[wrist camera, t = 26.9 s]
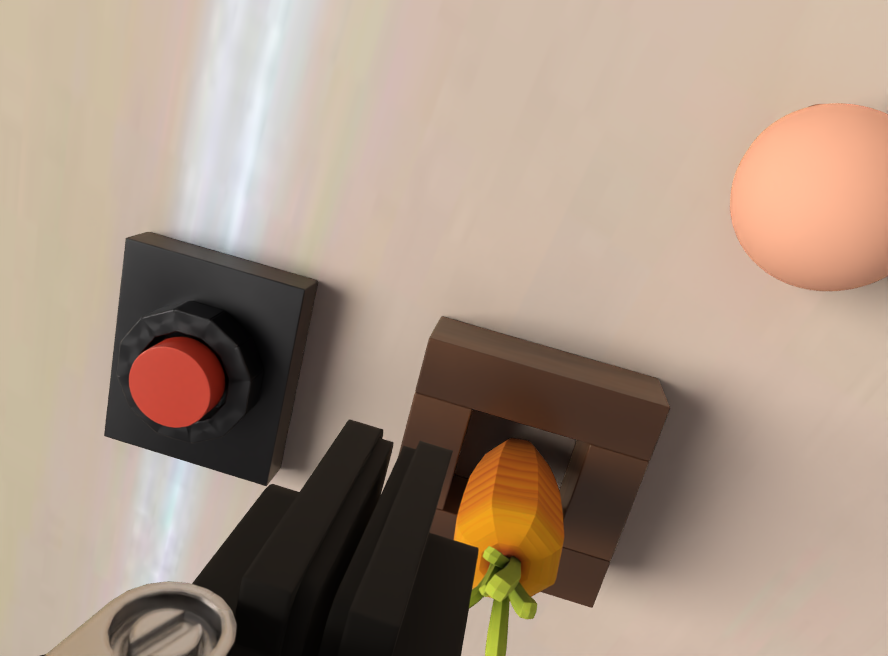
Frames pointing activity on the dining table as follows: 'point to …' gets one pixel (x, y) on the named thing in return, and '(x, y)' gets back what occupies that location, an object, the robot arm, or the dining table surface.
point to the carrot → (511, 532)
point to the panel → (228, 336)
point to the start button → (177, 381)
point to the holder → (551, 409)
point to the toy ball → (817, 198)
